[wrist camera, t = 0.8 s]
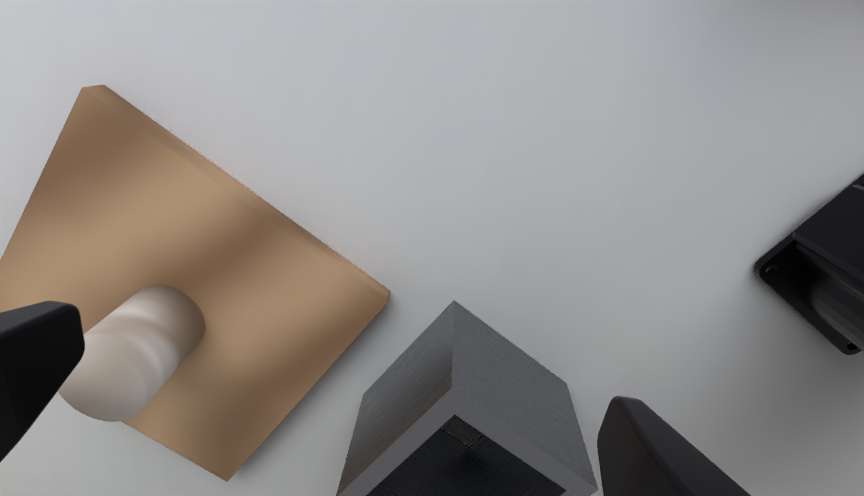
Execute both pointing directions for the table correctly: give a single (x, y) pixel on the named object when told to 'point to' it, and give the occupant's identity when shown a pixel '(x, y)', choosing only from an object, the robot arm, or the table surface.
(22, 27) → the table surface
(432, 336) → the duct collar
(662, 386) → the table surface
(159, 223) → the board
